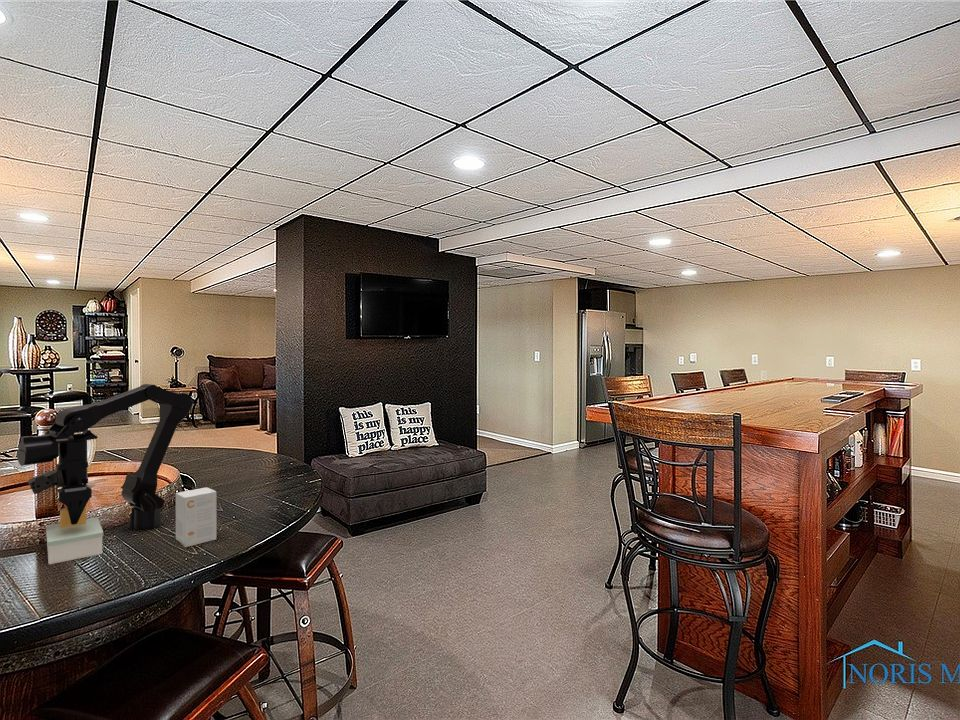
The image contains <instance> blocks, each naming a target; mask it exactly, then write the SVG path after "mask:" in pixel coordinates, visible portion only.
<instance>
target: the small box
mask: <svg viewBox="0 0 960 720" xmlns="http://www.w3.org/2000/svg"><path fill="white" fill-rule="evenodd" d="M217 514H218V513H217V491H216V490H215V489H212V488H210V487H201V488H197V489H190V490H184V491H179V492H176V493H175V540H176V541H178V542H179V543H180V544H181V546H182V547H183V548H188V547H193V546H195V545H199V544H205V543H207V542H208V543H209V542H212V541H215V540H217Z"/></svg>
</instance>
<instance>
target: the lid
mask: <svg viewBox="0 0 960 720" xmlns="http://www.w3.org/2000/svg"><path fill="white" fill-rule="evenodd" d="M59 510H60V511H59V517H60V518H59V523H53V524H48V525H46V524H45V532H46V548H47V547H48V546H54V545H59V544H65V543H70V542H76V541H81V540H87V539H92V538H98V537H102V538H103V537H104V531H103V527H102V525H101V522H100V521H99V520H100V519H99V517H98V516H97V517H91V518H90V517H89V518H87V505H86V506H85V508H84V510H83V512H82V514H81V516H80V518H79V521H78V523H77V524H73V525H72V524H71V521H70V517H69V513H68V509H67V508H60V509H59Z"/></svg>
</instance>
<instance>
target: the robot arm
mask: <svg viewBox="0 0 960 720" xmlns="http://www.w3.org/2000/svg"><path fill="white" fill-rule="evenodd" d="M146 401H151V402H154V403H155V404H159V405H160V406H159V409H158V410H159V412H158V413H159V420H158V423H157V426H156V428H155V430H154V432H153V434H152V436H151V440H150V442H149V444H148V446H147V449H146V451H145V453H144V456H143V458H142V460H141V463H140V465H139V467H138V469H137V470H136V471H135V472H134V473H133V474H130V473H127V474H126V475H125V479H124V482H123V484H122V486H120V489H122V490H121V496H122V499H123V501H126V502H128V505H129V507H132V508H131V513H130V514H129V528H130V529H133V530H135V531H146V530H147V531H149V530H154V529H156V528H158V527H160V526H161V525H162V517H161V515H162V512H161V511H162V509H163V507H164V505H165V502H166V501H165V499H164V498H163V497H160V496H159V495H158V494H157V493H156V492H157V488H158V472H159V470H160V468H161V465H162V462H163V460H164V459H165V456H166V454H167V451H168V448H169V446H170V444H171V442H172V439H173V436H174V434H175V432H176V429H177V427H178V426H179V424H180V423H181V422H182V421H183V420H184V419H185V418H186V417H187V416H188V414H189V412H190V411H191V409H192V408H193V405H194V400H193V398H192V397H191V396H190V394H188V393H186V392H179V391H170V390H168V389H165V388H162V387H159V386H157V385H156V384H152V383H151V384H149V383H143V384H141V385H140V386H138V387H135V388H133V389H130V390H127V391H125V392H122V393H118V394H117V395H114V396H111V397H108V398H105V399H102V400H100V401H97V402H93V403H89V404H88V403H87V404H82V405H78V406H77V405H76V406H72V407H66V408H63V409H61V410H60V411H58V413H57V415H56V416H55V420H54V422H53V423H52V425H51V426H50V427H49V428H48V429H47V431H45V432H44V434H43V435H33V436H30V435H25V436H20V442H19V444H18V449H16V457H17V458H16V459H17V462H18V464H19V465H20V467H24V466H30V465H38V464H45V463H52V462H53V461H54V460H55V459H57V457H58V463H56V469H52V470H49V471H47V472H44V473H42V474H39V475H37V476H34V477H32V478H30V479H28V481H27V482H28V485H29V487H30V489H31V491H32V493H33V495H37V494H41V493H42V492H43V491H45V490H47V489H50V488H53V487H56V491H57V493H58V495H57V496H58V502H59V503H60V504H63V505H65V507H66V509H68V513H69V517H70V521H71V524H72V525H73V524H77V523H78V521H79V518H80V516H81V514H82V512H83V510H84V508H85V506H86V507H87V505H88V502H89V500H90V499H91V498H93V495H92V493H93V492H92V491H93V490H92V487H91V486H90V485H88V484H89V478H88V468H89V461H88V440H89V441H90V440H97V439H98V435H95V433H93V432H92V431H91V430H89V429H90V428H92V427H94V426H95V425H97V424H98V423H100V421H101V420H103V419H105V418H106V417H108V416H111V415H114V414H116V413H118V412H122V411H124V410H127V409H129V408H131V407H134V406H137V405H139V404H141V403H145V402H146Z"/></svg>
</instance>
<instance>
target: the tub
mask: <svg viewBox="0 0 960 720" xmlns="http://www.w3.org/2000/svg"><path fill="white" fill-rule="evenodd" d="M46 549H47V560H48V561H47V562H48V565H54V564H57V563H59V564H60V563H63V562H68V561H73V560H77V559H84V558H88V557H93V556H99V555H102V554H103V537H98V538H92V539H87V540H81V541H76V542H70V543H65V544H59V545H54V546H48V547H47V546H46Z"/></svg>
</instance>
